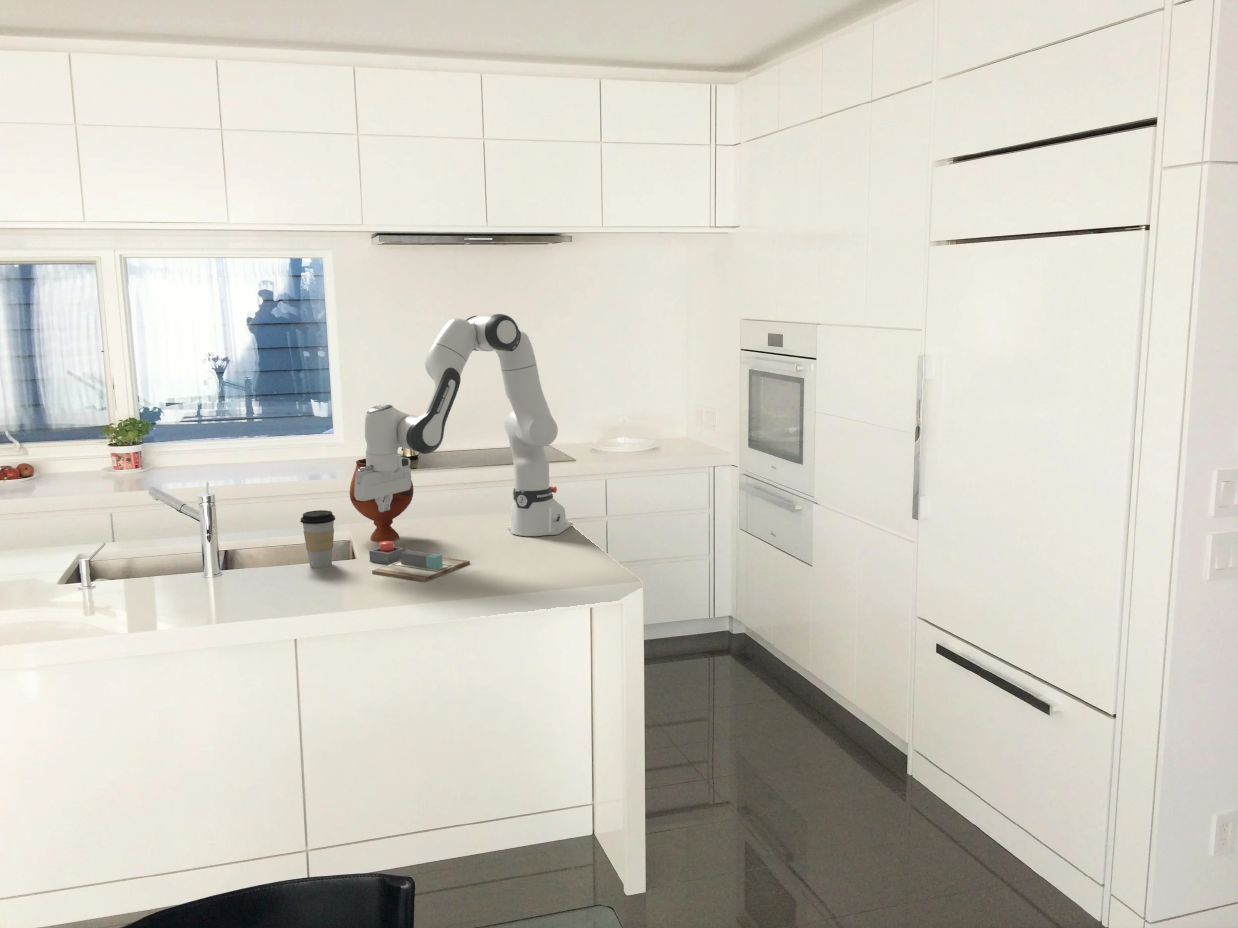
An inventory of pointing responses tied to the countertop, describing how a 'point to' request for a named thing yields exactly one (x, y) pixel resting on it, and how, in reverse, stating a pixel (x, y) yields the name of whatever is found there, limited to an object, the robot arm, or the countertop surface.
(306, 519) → the coffee cup
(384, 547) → the button
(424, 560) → the block
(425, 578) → the drawing board
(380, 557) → the button housing
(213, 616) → the countertop surface
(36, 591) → the countertop surface
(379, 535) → the goblet
